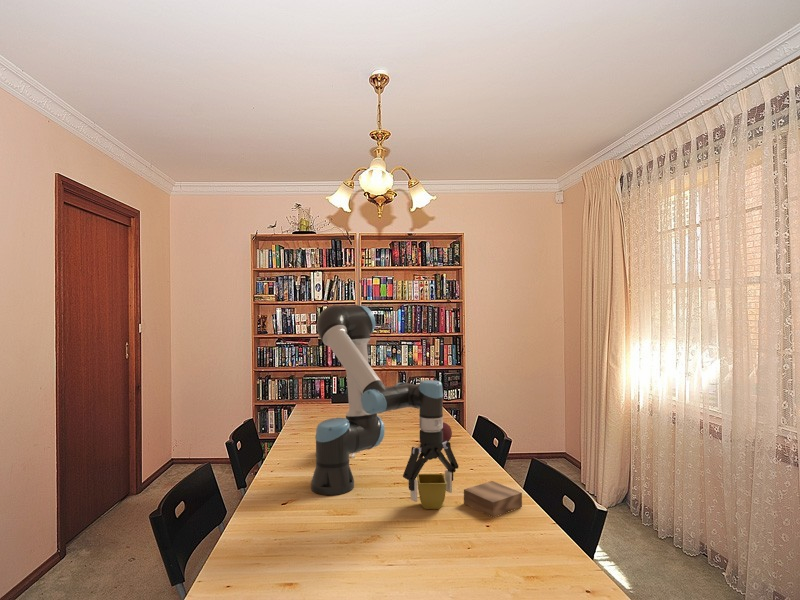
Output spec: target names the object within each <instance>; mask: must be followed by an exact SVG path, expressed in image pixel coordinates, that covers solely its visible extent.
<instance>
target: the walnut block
mask: <svg viewBox="0 0 800 600" xmlns="http://www.w3.org/2000/svg"><path fill="white" fill-rule="evenodd" d="M463 505H465V506H468V507H470V508H472V509H473V510H476V511H478V512H481V513H482V512H483V513H482V514H484V513H485V514H484V515H486V514H487V516H489V515H490V516H489V517H491V516H492V517H491V518H493V517H494V518H496V517H495V516H497V517H499V516H501V515H500V514H502V515H504V513H505V514H507V513H506V512H508V511H511V510H513V511H515V510H514V509H516V510H518V509H517V508H519V509H521V508H520V507H522V508H523V492H521V491H518V490H515V489H513V488H511V487H508V486H505V485H503V484H500V483H498V482H496V481H493V480H490V481H488V482H484V483H480V484H477V485H474V486H471V487H468V488H467V487H466V488H464V489H463ZM511 512H512V511H511ZM508 513H509V512H508ZM498 515H499V516H498Z"/></svg>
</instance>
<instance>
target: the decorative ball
mask: <svg viewBox="0 0 800 600" xmlns="http://www.w3.org/2000/svg"><path fill="white" fill-rule="evenodd" d="M441 430H442V431H443V441H447V442H450V441H451V439H452V436H453V431H452V428H451V427H450V425H449V424H448V423H446V422H445V421H443V428H442V429H441ZM442 443H443V442H442Z"/></svg>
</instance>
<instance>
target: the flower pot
mask: <svg viewBox="0 0 800 600" xmlns="http://www.w3.org/2000/svg"><path fill="white" fill-rule="evenodd" d="M416 478H417V479H416V480H417V492H418V495H419V501H420V504H421V506H422V509H424V510H440V509H441V507H442V506H443V504H444V501H445V499H446V492H447V491H446V484H447V483H446V480H445V474H443V473H419V474H418V475H417V477H416Z"/></svg>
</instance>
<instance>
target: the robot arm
mask: <svg viewBox="0 0 800 600" xmlns="http://www.w3.org/2000/svg"><path fill="white" fill-rule="evenodd" d="M375 328H376V318H375V315H374V313H373V311H372V310H371V309H370V308H369V307H368V306H365V305H358V304H354V305H353V304H350V305H347V304H346V305H345V304H343V305H339V304H338V305H335V304H334V305H331V306H328V307H326V308H324V309H322V311H321V312H320V313H319V315H318V317H317V321H316V330H317V333H318V336H319V338H320V340H321V341H322V343H323V344H324V345H325V346H327V347H329V348H330V349H331V351H332V352H333V354H334V355H335V357H336V358H337V359H338V360H339V363H340V364H341V365H342V367H343V368H344V370H345V372H346V382H347V383H346V384H347V397H348V409H349V410H348V411H347V412H346V413H345V417H335V418H334V417H332V418H329V419H325V420H323V421H321V422H320V423H318V425H316V430H315V468H314V469H315V470H314V471H313V474H312V478H311V482H310V489H311V491H312V492H313V493H315V494H317V495H323V496H335V495H343V494H346V493H349V492H351V491H352V490H353V489H354V488H355V478H354V475H353V472H352V469H351V467H350V455H351V454H352V453H355V454H356V452H357V453H360V452H362V451H366V450H367V451H369V450H371V449H373V448H376V447H378V446H379V445H381V442H383V440H384V437H385V433H386V432H385V431H386V430H385V429H386V428H385V424H384V421H383V420H382V418H381V417H380V416H378V414H382V413H386V412H390V411H394V410H401V409H406V408H414V409H417V410H418V411H419V414H418V415H419V418H418V419H419V429H420V430H419V444H420V445H419V447H416V446H412V447H411V450H410V451H411V452H410V456H409V458H408V461H407V464H406V467H405V469H404V472H403V475H402V477H403V478H404V479H405V480H407V481H408V490H409V491H410V500H411V501H413V502H415V503H416V502H418V480H417V479H416V478H417V475H418V474H420V472H421V470H422V469H423V466H424V465H425V464H426V463H427V462H428V461H430V460H431V461H432V460H434V459H435V460H436V459H439V461H440V462H441V463H442V466H444V467H445V470H444V477H445V480H446V483H447V484H446V492H448V493H450V494H451V493H453V481H454V473H456V469H457V470H458V469H459V467H460V466H459V464H458V462H457V460H456V457H455V454H454V453H453V451H452V446H451V442H450V441H448V442H447V441H443V431H442V430H441V429H442V428H443V422H444V417H443V416H444V412H443V411H444V410H443V408H444V404H443V403H444V389H443V383H442V382H441V381H439V380H435V379H434V380H432V379H429V380H428V379H426V380H421V381H420V382H419V384H413V383H410V382H409V383H408V382H398V383H396V384H395V385H392V386H386V385H385V384H384V383H383V382H382V379H380V377H379V376H378V374H377V373H376V371H375V370H374V369H373V368H372V366H371V365H370V364H369V363H370V362H369V355H368V354H369V353H368V352H369V351H368V343H369V342H370V341H371V334H373V333H374V331H375ZM442 442H443V443H442ZM442 450H444V453H445V454H444V453H443V452H442ZM359 451H360V452H359ZM445 455H446V457H447V458H446V457H445Z"/></svg>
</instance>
